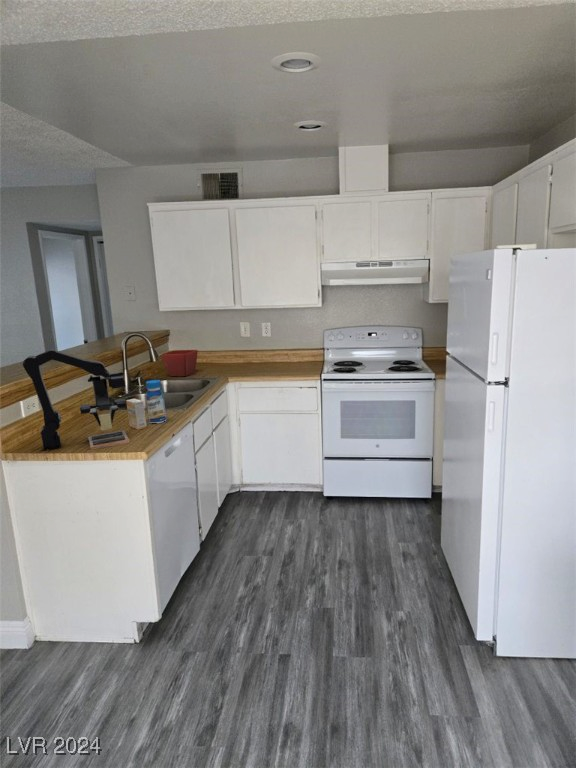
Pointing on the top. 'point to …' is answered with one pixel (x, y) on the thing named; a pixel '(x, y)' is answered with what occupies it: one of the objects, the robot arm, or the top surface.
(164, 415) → the beverage bottle
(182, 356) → the plant pot
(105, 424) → the pale yellow block
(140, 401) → the supplement box
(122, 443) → the rail frame
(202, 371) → the top surface
